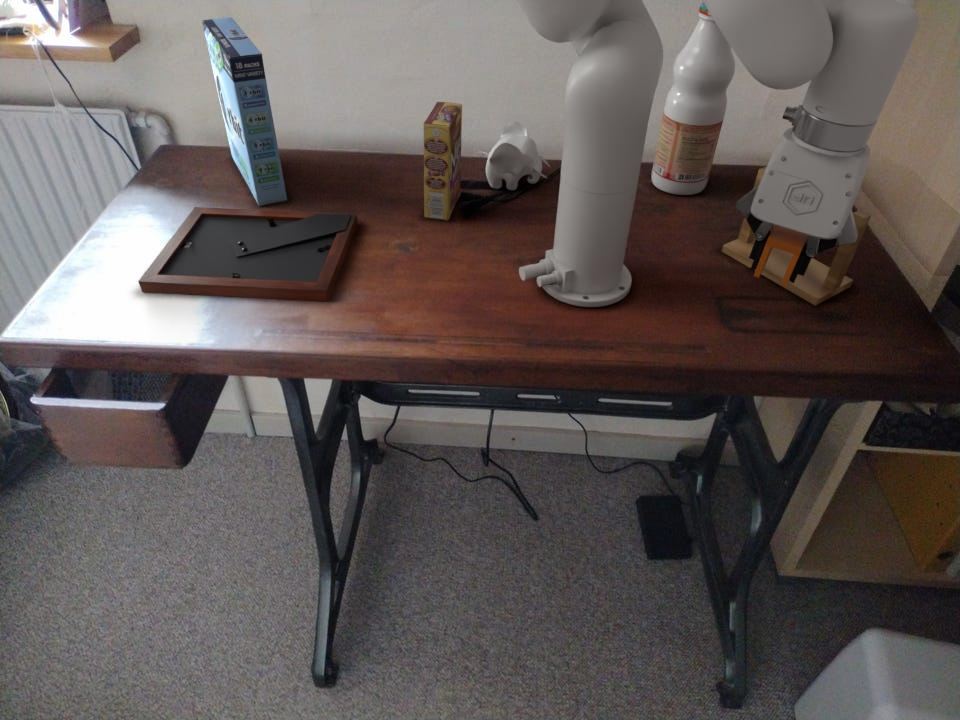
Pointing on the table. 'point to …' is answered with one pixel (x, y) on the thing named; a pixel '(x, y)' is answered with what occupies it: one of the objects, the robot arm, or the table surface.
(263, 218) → the picture frame
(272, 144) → the gum box
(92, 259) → the table surface
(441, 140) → the candy box
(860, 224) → the rail stand
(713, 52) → the fruit juice
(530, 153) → the elephant figurine
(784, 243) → the clip
